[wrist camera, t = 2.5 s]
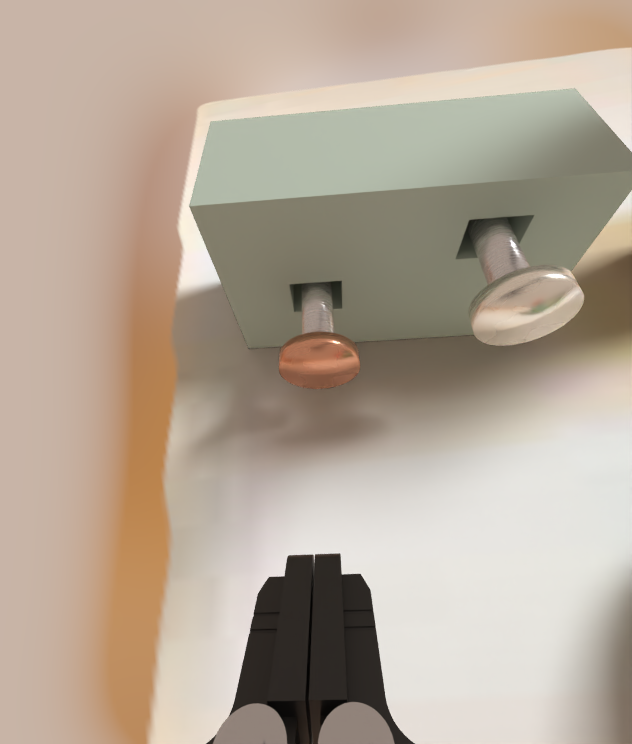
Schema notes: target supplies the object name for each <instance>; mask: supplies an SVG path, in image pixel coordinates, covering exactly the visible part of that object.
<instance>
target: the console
mask: <svg viewBox="0 0 632 744" xmlns="http://www.w3.org/2000/svg"><path fill="white" fill-rule="evenodd" d="M631 190H632V152H631V151H630V150H629V149H628V148H627V147H626V145H625V144H624V143H623V142H622V141H621V140H620V139H619V138H618V136H617V135H616V134H615V133H614V132H613V131H612V130H611V128H610V127H609V126H608V125H607V124H606V123H605V122H604V121H603V119H602V118H601V117H600V116H599V115H598V114H597V113H596V111H595V110H594V109H593V108H592V107H591V106H590V105H589V104H588V102H587V101H586V100H585V99H584V98H583V97H582V96H581V95H580V93H579V92H578V91H577V90H576V89H575V88H574V89H563V90H552V91H541V92H530V93H519V94H508V95H497V96H486V97H475V98H464V99H453V100H442V101H431V102H420V103H409V104H398V105H387V106H376V107H365V108H354V109H343V110H332V111H321V112H310V113H299V114H288V115H277V116H266V117H255V118H244V119H233V120H222V121H211V122H210V126H209V130H208V134H207V138H206V142H205V146H204V150H203V154H202V158H201V162H200V166H199V170H198V174H197V178H196V182H195V186H194V190H193V194H192V198H191V201H190V205H189V207H190V209H191V211H192V214H193V216H194V219H195V221H196V224H197V226H198V228H199V231H200V233H201V236H202V238H203V240H204V243H205V245H206V248H207V250H208V252H209V255H210V257H211V260H212V262H213V264H214V267H215V269H216V272H217V274H218V276H219V279H220V281H221V284H222V286H223V288H224V291H225V293H226V296H227V298H228V300H229V303H230V305H231V308H232V310H233V312H234V315H235V317H236V320H237V322H238V324H239V327H240V329H241V332H242V334H243V336H244V339H245V341H246V344H247V346H248V348H249V349H250V348H267V347H282V346H283V345H284V344H285V343H286V342H287V341H288V340H290V339H291V338H293V337H295V336H298V335H301V334H302V283H316V282H330V281H331V288H332V303H333V318H334V333H337V334H340V335H343V336H345V337H347V338H349V339H351V340H352V341H353V342H365V341H382V340H398V339H415V338H431V337H448V336H464V335H474V332H473V329H472V326H471V323H470V320H469V317H468V310H469V307H470V304H471V302H472V301H473V299H474V298H475V297H476V295H477V294H478V293H479V292H480V291H481V290H482V289H484V288H485V287H486V286H487V285H488V284H487V281H486V279H485V276H484V273H483V271H482V268H481V265H480V263H479V260H478V257H477V255H476V252H475V249H474V246H473V244H472V241H471V238H470V236H469V233H468V230H467V225H468V222H469V220H473V219H486V218H499V217H507V219H508V221H509V223H510V226H511V228H512V230H513V232H514V234H515V236H516V238H517V240H518V243H519V245H520V247H521V249H522V251H523V253H524V255H525V257H526V259H527V262H528V264H529V266H536V265H557V266H561V267H564V268H566V269H568V270H569V271H572V270H573V268H574V267H575V265H576V264H577V263H578V261H579V260H580V259H581V257H582V256H583V255H584V253H585V252H586V251H587V249H588V248H589V247H590V245H591V244H592V243H593V241H594V240H595V239H596V237H597V236H598V235H599V233H600V232H601V231H602V229H603V228H604V226H605V225H606V224H607V222H608V221H609V220H610V218H611V217H612V216H613V214H614V213H615V212H616V210H617V209H618V208H619V206H620V205H621V204H622V202H623V201H624V200H625V198H626V197H627V196H628V194H629V193H630V192H631Z"/></svg>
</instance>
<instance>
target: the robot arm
mask: <svg viewBox="0 0 632 744" xmlns="http://www.w3.org/2000/svg"><path fill="white" fill-rule="evenodd" d="M207 744H415V743H413V742H412V741H410V740H409V739H408V738H407V737H406V736H405V735H404V734H403V733H402V732H401V731H400V729H399V728H398V727H397V725H396V724H395V722H394V721H393V719H392V716H391V714H390V712H389V709H388V706H387V703H386V698H385V691H384V684H383V677H382V670H381V662H380V655H379V648H378V641H377V634H376V628H375V620H374V613H373V605H372V598H371V591H370V589H369V587H368V585H367V584H366V582H365V581H364V579H363V577H362V576H361V574H344V575H342V573H341V557H340V554H315V563H314V555H288V558H287V563H286V570H285V577H269V578H268V579H267V581H266V582H265V584H264V585H263V587H262V588H261V590H260V591H259V593H258V596H257V601H256V605H255V610H254V617H253V619H252V624H251V628H250V634H249V637H248V642H247V647H246V651H245V656H244V660H243V665H242V669H241V674H240V679H239V683H238V688H237V692H236V697H235V701H234V705H233V708H232V710H231V713H230V715H229V717H228V718H227V719H226V720H225V722H224V723H223V724H222V726H221V727H220V729H219V731H218V733H217V734H216V735H215V736H214V737H213V738H212V739H211V740H210V741H209V742H208V743H207Z"/></svg>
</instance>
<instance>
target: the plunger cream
mask: <svg viewBox="0 0 632 744" xmlns="http://www.w3.org/2000/svg"><path fill="white" fill-rule="evenodd" d="M467 230H468V233H469V236H470V238H471V241H472V244H473V246H474V249H475V252H476V255H477V257H478V260H479V263H480V265H481V268H482V271H483V273H484V276H485V279H486V281H487V284H488V285H487V286H486V287H485V288H484V289H482V290H481V291H480V292H479V293H478V294H477V295H476V297H475V298H474V299H473V301H472V302H471V304H470V307H469V310H468V317H469V320H470V323H471V326H472V329H473V332H474V335H475V337H476V338H477V339H478V340H479V341H481V342H483V343H486V344H489V345H497V346H507V345H515V344H521V343H525V342H529V341H532V340H535V339H538V338H541V337H543V336H545V335H548V334H550V333H552V332H554V331H555V330H557V329H559V328H560V327H562V326H563V325H565V324H566V323H568V322H569V321H570V320H571V319H572V318H573V317H574V316H575V315H576V314H577V313H578V312H579V311H580V309H581V307H582V305H583V303H584V294H583V292H582V290H581V288H580V286H579V284H578V282H577V281H576V279H575V277H574V275H573V274H572V273H571V271H569V270H568V269H566V268H564V267H561V266H557V265H536V266H529V264H528V262H527V259H526V257H525V255H524V253H523V251H522V249H521V247H520V245H519V243H518V240H517V238H516V236H515V234H514V232H513V230H512V228H511V226H510V223H509V221H508V219H507V217H499V218H486V219H473V220H469V222H468V225H467Z"/></svg>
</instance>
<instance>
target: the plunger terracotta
mask: <svg viewBox="0 0 632 744" xmlns="http://www.w3.org/2000/svg"><path fill="white" fill-rule="evenodd" d="M359 370H360V361H359V352H358V347H357V346H356V344H355V343H354V342H353V341H352V340H351V339H349V338H347V337H345V336H343V335H340V334H337V333H334V318H333V303H332V288H331V281H330V282H316V283H302V334H301V335H298V336H295V337H293V338H291V339H290V340H288V341H287V342H286V343H285V344H284V345H283V346H282V348H281V350H280V355H279V372H280V374H281V376H282V377H283V378H284V379H285V380H286V381H288V382H289V383H291V384H294V385H296V386H300V387H304V388H312V389H323V388H331V387H336V386H339V385H342V384H345V383H347V382H349V381H350V380H352V379H353V378H354V377H355V376H356V375H357V374H358V372H359Z"/></svg>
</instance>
